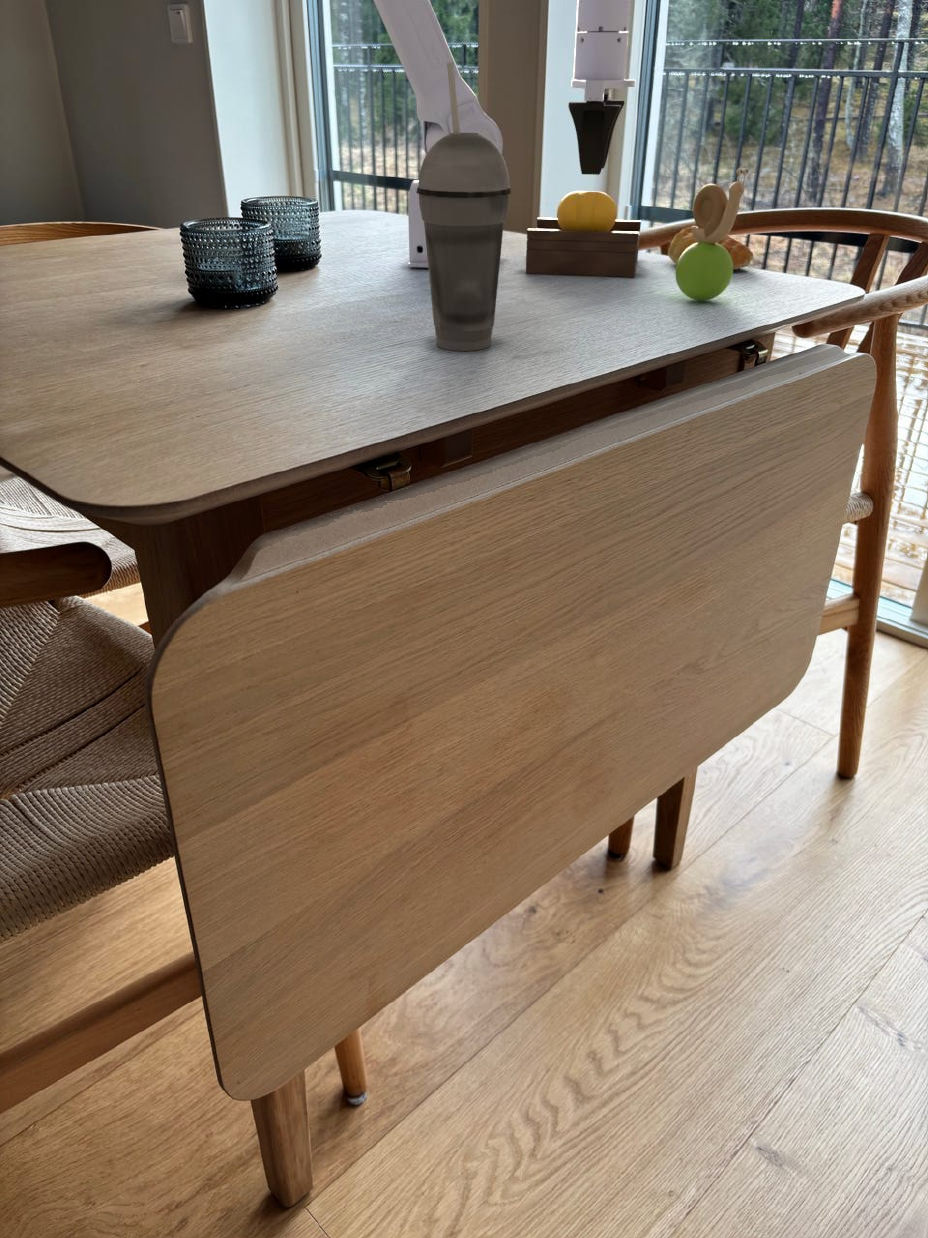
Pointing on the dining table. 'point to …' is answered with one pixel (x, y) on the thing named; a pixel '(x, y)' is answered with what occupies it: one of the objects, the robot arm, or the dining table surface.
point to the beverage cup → (463, 231)
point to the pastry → (736, 249)
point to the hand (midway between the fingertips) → (593, 171)
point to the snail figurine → (710, 242)
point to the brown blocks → (583, 249)
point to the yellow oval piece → (587, 211)
